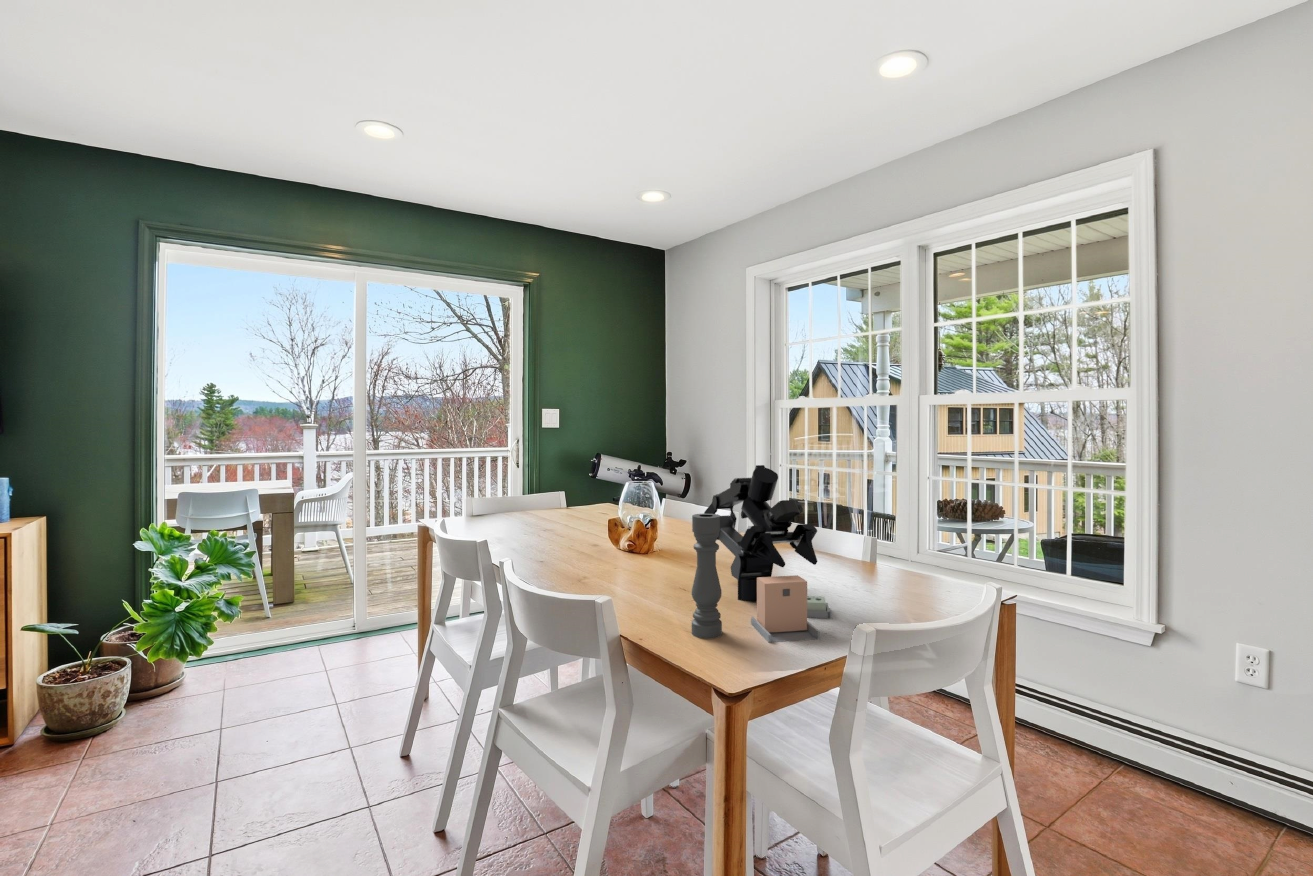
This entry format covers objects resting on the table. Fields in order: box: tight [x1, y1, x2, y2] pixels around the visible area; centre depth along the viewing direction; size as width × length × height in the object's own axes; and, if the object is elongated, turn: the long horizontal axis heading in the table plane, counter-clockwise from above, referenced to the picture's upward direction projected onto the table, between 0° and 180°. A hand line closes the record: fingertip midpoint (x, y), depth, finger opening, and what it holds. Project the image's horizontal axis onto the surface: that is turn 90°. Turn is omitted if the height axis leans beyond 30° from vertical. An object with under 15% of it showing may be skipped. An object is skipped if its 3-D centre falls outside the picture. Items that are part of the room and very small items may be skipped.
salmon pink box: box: [756, 575, 808, 633], centre depth 132 cm, size 5×9×10 cm, turn 100°
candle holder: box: [691, 513, 723, 640], centre depth 129 cm, size 6×6×25 cm
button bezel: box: [807, 602, 834, 620], centre depth 143 cm, size 8×8×2 cm
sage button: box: [807, 595, 827, 611], centre depth 143 cm, size 5×5×2 cm
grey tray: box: [750, 616, 821, 643], centre depth 131 cm, size 11×11×2 cm
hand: (800, 564), depth 137 cm, fingers open, 9 cm apart
